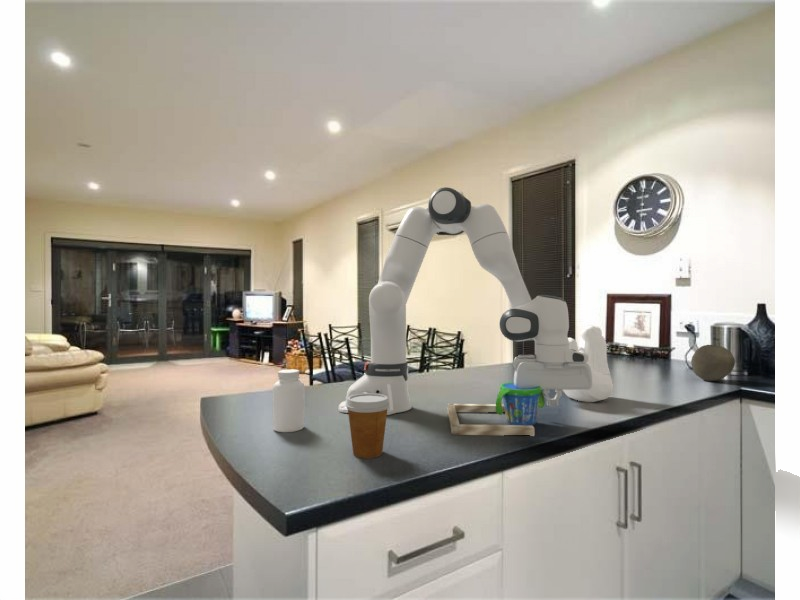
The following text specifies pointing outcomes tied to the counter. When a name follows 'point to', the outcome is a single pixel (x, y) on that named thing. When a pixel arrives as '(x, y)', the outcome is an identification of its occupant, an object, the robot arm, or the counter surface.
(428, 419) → the counter surface
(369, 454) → the disposable coffee cup
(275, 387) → the pill bottle
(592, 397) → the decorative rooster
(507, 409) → the snack cup
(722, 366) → the cantaloupe
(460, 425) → the wooden frame
